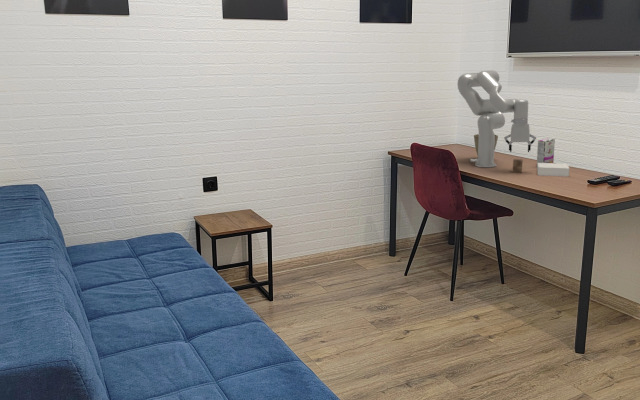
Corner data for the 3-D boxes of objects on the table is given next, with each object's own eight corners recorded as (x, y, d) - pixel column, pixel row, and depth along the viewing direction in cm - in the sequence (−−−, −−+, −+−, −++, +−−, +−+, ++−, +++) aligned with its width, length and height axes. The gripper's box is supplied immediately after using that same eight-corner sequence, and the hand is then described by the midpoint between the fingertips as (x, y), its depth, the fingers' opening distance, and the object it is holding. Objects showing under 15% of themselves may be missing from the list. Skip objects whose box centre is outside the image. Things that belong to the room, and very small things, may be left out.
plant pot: (468, 160, 376) (469, 136, 373) (479, 157, 387) (480, 133, 383) (490, 163, 367) (491, 137, 363) (500, 159, 377) (502, 135, 374)
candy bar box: (545, 164, 356) (547, 138, 353) (553, 166, 353) (555, 139, 349) (535, 167, 350) (537, 140, 346) (543, 168, 346) (545, 141, 342)
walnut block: (512, 172, 337) (513, 160, 335) (512, 171, 341) (513, 159, 339) (521, 173, 335) (522, 161, 333) (521, 171, 339) (522, 159, 338)
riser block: (537, 176, 328) (538, 167, 326) (537, 171, 341) (537, 162, 339) (568, 177, 323) (569, 168, 322) (566, 172, 336) (567, 163, 335)
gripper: (504, 122, 330) (503, 152, 334) (536, 122, 324) (535, 152, 328) (504, 121, 337) (504, 150, 341) (536, 121, 331) (535, 151, 335)
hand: (519, 151), depth 334 cm, fingers open, 9 cm apart
